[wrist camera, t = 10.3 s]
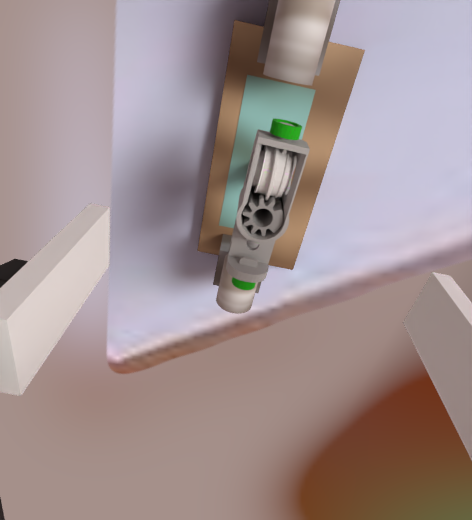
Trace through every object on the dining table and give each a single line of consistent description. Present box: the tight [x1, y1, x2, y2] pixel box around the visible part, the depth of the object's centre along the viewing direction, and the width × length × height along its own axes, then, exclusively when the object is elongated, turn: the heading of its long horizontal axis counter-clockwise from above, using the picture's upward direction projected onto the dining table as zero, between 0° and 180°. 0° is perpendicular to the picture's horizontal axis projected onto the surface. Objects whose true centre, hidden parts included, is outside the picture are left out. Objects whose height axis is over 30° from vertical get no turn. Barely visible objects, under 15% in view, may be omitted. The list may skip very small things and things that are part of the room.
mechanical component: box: [226, 119, 310, 290], centre depth 25 cm, size 3×10×10 cm, turn 168°
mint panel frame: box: [198, 0, 365, 313], centre depth 26 cm, size 23×9×7 cm, turn 169°
